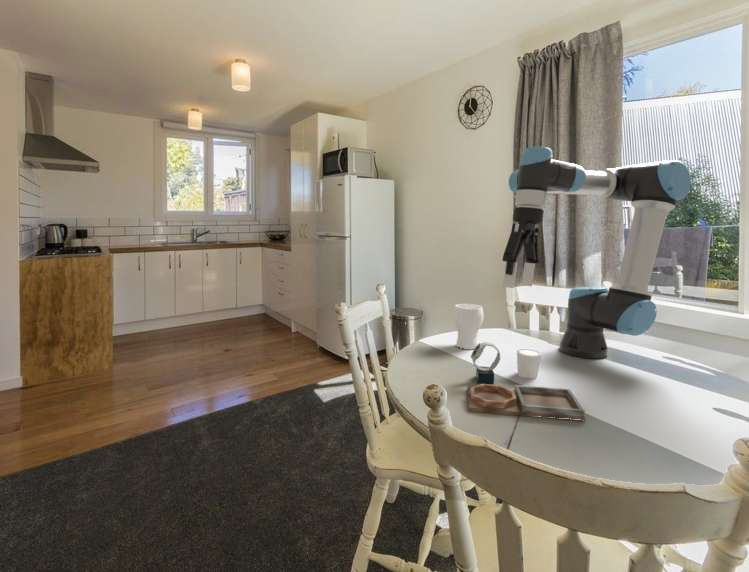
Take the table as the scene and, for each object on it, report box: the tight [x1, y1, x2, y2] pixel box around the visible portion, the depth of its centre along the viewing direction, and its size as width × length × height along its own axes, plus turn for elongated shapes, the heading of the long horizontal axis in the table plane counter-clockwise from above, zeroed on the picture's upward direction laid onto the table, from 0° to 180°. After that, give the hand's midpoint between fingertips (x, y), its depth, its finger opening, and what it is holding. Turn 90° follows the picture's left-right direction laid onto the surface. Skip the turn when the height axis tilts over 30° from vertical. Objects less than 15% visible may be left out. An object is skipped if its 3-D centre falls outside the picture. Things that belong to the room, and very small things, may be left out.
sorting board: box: [467, 384, 586, 421], centre depth 103 cm, size 26×13×2 cm, turn 79°
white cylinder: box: [516, 348, 542, 379], centre depth 123 cm, size 7×7×7 cm
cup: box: [452, 303, 484, 350], centre depth 150 cm, size 11×11×15 cm
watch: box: [470, 341, 501, 385], centre depth 118 cm, size 6×8×11 cm
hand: (517, 286), depth 113 cm, fingers open, 13 cm apart
